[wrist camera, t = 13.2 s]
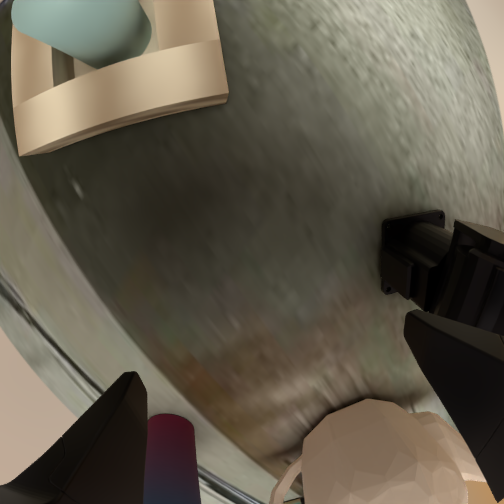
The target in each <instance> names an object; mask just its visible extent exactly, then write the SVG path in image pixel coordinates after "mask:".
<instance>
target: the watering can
mask: <svg viewBox="0 0 504 504" xmlns="http://www.w3.org/2000/svg"><path fill="white" fill-rule="evenodd" d="M301 471H302V479H303V489H304V499H305V504H468V490H467V487H466V484H465V481H466V480H474V481H481V482H486V480H485V478H484V476H483V474H482V472H481V470H480V468H479V466H478V464H477V463H476V461H475V458H474V457H473V455H472V453H471V451H470V450H469V448H468V446H467V444H466V442H465V441H464V439H463V437H462V435H461V434H459V433H458V432H457V431H456V430H455V429H454V428H452V427H451V426H450V425H449V424H448V423H447V422H446V421H444V420H443V419H442V418H441V417H440V416H439V415H438V414H435V413H432V412H429V411H427V412H419V413H410V414H409V413H408V412H406V411H405V410H404V409H402V408H401V407H400V406H398V405H397V404H395V403H393V402H387V401H381V400H374V399H365V400H363V401H360V402H358V403H355V404H353V405H351V406H348V407H346V408H343V409H341V410H338V411H336V412H334V413H331V414H328V415H327V416H326V417H325V418H324V419H323V420H322V421H321V422H320V423H319V424H318V425H317V426H316V427H315V428H314V429H313V430H312V431H311V432H310V433H309V434H308V435H307V436H306V437H305V438H304V442H303V450H302V455H301V456H300V457H299V458H297V459H296V460H295V461H294V462H293V463H292V464H291V465H289V466H288V467H287V468H286V470H285V471H284V473H283V475H282V476H281V478H280V479H279V481H278V482H277V484H276V485H275V487H274V488H273V490H272V492H271V497H270V502H269V504H283V501H284V496H285V495H286V493H287V491H288V490H289V488H290V486H291V484H292V483H293V481H294V479H295V477H296V476H297V475H298V474H299V473H300V472H301Z"/></svg>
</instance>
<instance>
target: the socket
mask: <svg viewBox="0 0 504 504" xmlns="http://www.w3.org/2000/svg"><path fill="white" fill-rule="evenodd" d="M138 1H139V3H140V4H141V6H142V8H143V10H144V11H145V13H146V15H147V17H148V18H149V20H150V23H151V27H152V34H151V38H150V42H149V44H148V46H147V48H146V49H145V51H144V52H143V53H142V54H141V56H138V57H135V58H131V59H128V60H125V61H121V62H118V63H115V64H112V65H109V66H106V67H103V68H101V69H98V70H97V69H95V68H93V67H91V66H89V65H87V64H85V63H83V62H82V61H80V60H78V59H76V58H74V57H72V56H70V55H68V54H66V53H64V52H62V51H60V50H58V49H56V48H54V47H52V46H50V45H47V44H45V43H43V42H41V41H39V40H37V39H35V38H32V37H30V36H28V35H26V34H24V33H21V32H20V31H18V30H17V29H16V28H15V26H14V24H13V30H12V51H11V76H12V98H13V111H14V121H15V130H16V138H17V145H18V151H19V156H26V155H33V154H41V153H49V152H52V151H54V150H57V149H59V148H62V147H65V146H67V145H70V144H73V143H75V142H78V141H81V140H84V139H86V138H89V137H92V136H95V135H98V134H101V133H104V132H108V131H111V130H114V129H117V128H121V127H124V126H127V125H131V124H134V123H138V122H142V121H146V120H149V119H153V118H157V117H161V116H165V115H170V114H174V113H178V112H183V111H188V110H193V109H198V108H203V107H208V106H213V105H219V104H225V103H226V101H227V98H228V95H229V90H228V84H227V79H226V73H225V67H224V61H223V55H222V50H221V44H220V38H219V32H218V27H217V21H216V15H215V9H214V4H213V0H138Z"/></svg>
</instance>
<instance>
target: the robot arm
mask: <svg viewBox="0 0 504 504" xmlns="http://www.w3.org/2000/svg"><path fill="white" fill-rule="evenodd" d="M439 215H440V217H439ZM388 224H390V227H389V228H387V226H388ZM444 226H445V214H444V212H443V211H441V210H435V211H429V212H424V213H418V214H412V215H407V216H402V217H396V218H391V219H386V220H385V221H384V222H383V224H382V248H381V277H382V287H381V289H382V292H383V293H384V294H386V295H389V294H392V293H396V292H399V293H400V294H401V295H402V296H403V297H404V298H405V299H407V300H409V299H411V300H412V301H413V302H414V303H415V304H416V305H418V306H419V307H420V308H421V309H422V310H423V311H421V310H418V309H416V310H413V311H410V312H408V313H407V314H406V317H405V325H404V337H405V340H406V342H407V343H408V345H409V347H410V349H411V351H412V353H413V355H414V357H415V359H416V361H417V363H418V365H419V367H420V369H421V370H422V372H423V374H424V375H425V377H426V378H427V380H428V382H429V383H430V385H431V386H432V388H433V389H434V391H435V392H436V394H437V396H438V397H439V399H440V400H441V402H442V404H443V405H444V407H445V409H446V410H447V412H448V413H449V415H450V417H451V418H452V420H453V422H454V423H455V425H456V427H457V429H458V430H459V432H460V434H461V435H462V437H463V439H464V441H465V442H466V444H467V446H468V448H469V450H470V451H471V453H472V455H473V457H474V458H475V461H476V463H477V464H478V466H479V468H480V470H481V472H482V474H483V476H484V478H485V480H486V482H487V484H488V485H489V487H490V489H491V491H492V494H493V495H494V498H495V500H496V501H497V503H498V502H499V501H501V500H502V499H503V498H504V233H503V232H501V231H499V230H496V229H494V228H491V227H487V226H483V225H478V224H474V223H470V222H466V221H461V220H457V219H455V222H454V226H453V227H454V232H453V233H452V232H450V231H448V230H446V229H444ZM387 287H389V288H388V289H387ZM386 289H387V290H386ZM428 311H429V312H428ZM147 438H148V418H147V391H146V388H145V386H144V384H143V382H142V380H141V379H140V377H139V375H138V373H137V372H135V371H131V372H124V373H123V374H122V375H121V376H120V377H119V378H118V379H117V380H116V381H115V382H114V383H113V384H112V385H111V386H110V387H109V388H108V389H107V390H106V391H105V392H104V393H103V394H102V395H101V396H100V397H99V398H98V399H97V401H96V402H95V403H94V404H93V405H92V406H91V407H90V408H89V409H88V410H87V411H86V412H85V413H84V414H83V415H82V416H81V417H80V418H79V419H78V420H77V421H76V422H75V423H74V424H73V425H72V426H71V427H70V428H69V429H68V430H67V431H66V432H65V433H64V434H63V435H62V437H60V438H59V439H58V440H57V441H56V442H55V443H54V444H53V446H51V447H50V448H49V449H48V450H47V451H46V452H45V453H44V454H43V455H42V456H41V457H40V458H38V459H37V460H36V461H35V462H34V463H33V464H31V465H30V466H29V467H28V468H27V469H26V470H24V471H23V472H22V473H21V474H20V475H18V476H17V477H16V478H15V479H14V480H12V481H11V482H9V483H7V484H4V485H0V504H143V498H144V478H145V463H146V450H147Z"/></svg>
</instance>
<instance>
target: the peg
mask: <svg viewBox="0 0 504 504" xmlns="http://www.w3.org/2000/svg"><path fill="white" fill-rule="evenodd" d="M11 15H12V22H13V24H14V26H15V28H16V29H17V30H18V31H20V32H21V33H24V34H26V35H28V36H30V37H32V38H35V39H37V40H39V41H41V42H43V43H45V44H47V45H50V46H52V47H54V48H56V49H58V50H60V51H62V52H64V53H66V54H68V55H70V56H72V57H74V58H76V59H78V60H80V61H82V62H83V63H85V64H87V65H89V66H91V67H93V68H95V69H97V70H98V69H101V68H103V67H106V66H109V65H112V64H115V63H118V62H121V61H125V60H128V59H131V58H135V57H138V56H141V54H142V53H143V52H144V51H145V49H146V48H147V46H148V44H149V42H150V38H151V34H152V27H151V23H150V20H149V18H148V17H147V15H146V13H145V11H144V10H143V8H142V6H141V4H140V3H139V1H138V0H14V2H13V6H12V13H11Z"/></svg>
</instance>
